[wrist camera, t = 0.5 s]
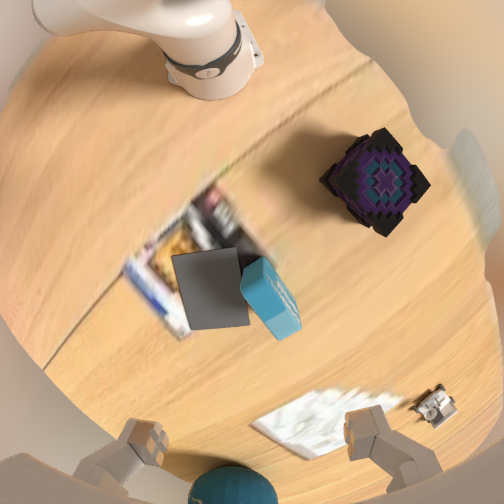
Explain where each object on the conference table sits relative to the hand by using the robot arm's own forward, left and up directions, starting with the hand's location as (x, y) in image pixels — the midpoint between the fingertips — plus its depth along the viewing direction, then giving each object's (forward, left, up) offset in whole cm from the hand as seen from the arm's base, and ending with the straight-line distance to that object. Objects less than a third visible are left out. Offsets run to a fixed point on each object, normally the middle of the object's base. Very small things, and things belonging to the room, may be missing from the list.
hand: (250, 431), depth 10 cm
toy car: (+62, +48, -44) cm, 90 cm away
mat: (+11, -12, -43) cm, 46 cm away
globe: (+84, -21, -43) cm, 97 cm away
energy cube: (-7, +20, -43) cm, 48 cm away
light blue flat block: (+11, 0, -43) cm, 45 cm away
